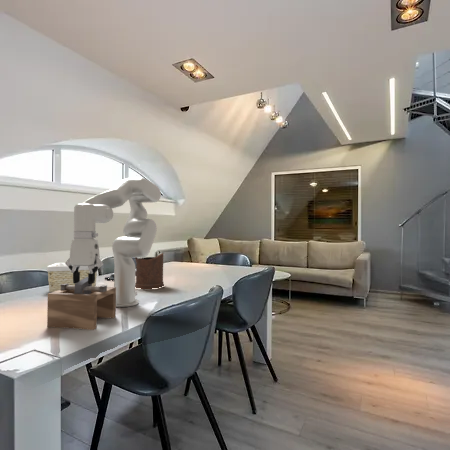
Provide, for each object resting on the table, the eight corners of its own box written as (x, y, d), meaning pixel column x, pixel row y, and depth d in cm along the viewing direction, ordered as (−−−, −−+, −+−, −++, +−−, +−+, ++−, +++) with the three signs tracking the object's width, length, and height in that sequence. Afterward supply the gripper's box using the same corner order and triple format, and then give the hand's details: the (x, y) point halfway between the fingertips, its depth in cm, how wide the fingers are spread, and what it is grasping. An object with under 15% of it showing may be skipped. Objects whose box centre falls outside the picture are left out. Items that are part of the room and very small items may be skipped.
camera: (110, 279, 215) (110, 273, 215) (120, 280, 209) (120, 274, 209) (104, 280, 210) (104, 274, 210) (114, 282, 205) (114, 275, 205)
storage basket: (45, 293, 169) (45, 265, 169) (55, 287, 185) (56, 262, 185) (92, 291, 173) (92, 265, 173) (98, 286, 189) (98, 261, 189)
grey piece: (85, 295, 125) (86, 276, 123) (90, 296, 125) (92, 278, 123) (73, 304, 117) (74, 283, 115) (79, 305, 117) (81, 285, 115)
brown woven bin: (161, 290, 179) (162, 246, 179) (119, 289, 180) (120, 246, 180) (167, 284, 198) (168, 244, 198) (130, 283, 198) (130, 244, 198)
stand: (74, 314, 129) (75, 280, 129) (115, 316, 126) (116, 282, 127) (47, 326, 113) (47, 288, 113) (93, 329, 111) (94, 290, 111)
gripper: (110, 236, 122) (109, 282, 122) (70, 235, 125) (69, 280, 125) (100, 236, 115) (99, 286, 115) (57, 235, 117) (56, 284, 117)
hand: (83, 282), depth 120 cm, fingers open, 5 cm apart
